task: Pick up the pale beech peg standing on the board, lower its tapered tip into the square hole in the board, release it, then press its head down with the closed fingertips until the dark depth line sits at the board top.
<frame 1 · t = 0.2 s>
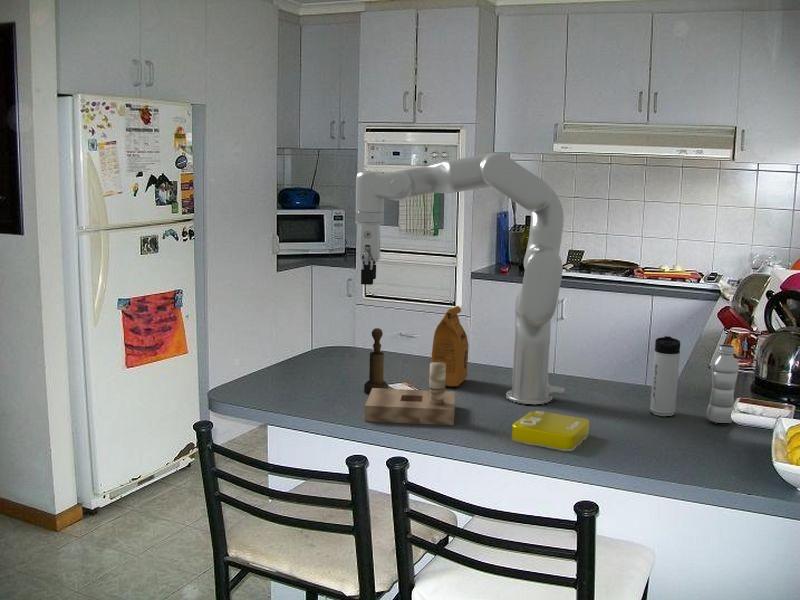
hand: (368, 281, 236), 31 cm above the counter, tool pointing down, fingers open, 9 cm apart
peg: (436, 402, 219), point 4 cm above the counter, touching board
board: (411, 413, 223), on the counter
travel mug: (662, 414, 227), on the counter
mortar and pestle: (376, 392, 241), on the counter
coffee package: (449, 383, 252), on the counter
element tile: (550, 440, 206), on the counter
plastic bottle: (719, 423, 221), on the counter
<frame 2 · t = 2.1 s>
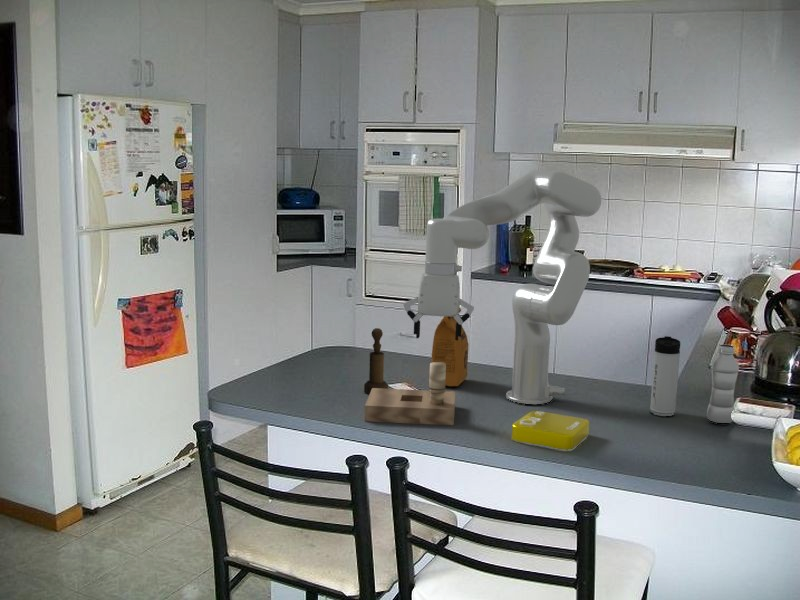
hand: (437, 338, 215), 21 cm above the counter, tool pointing down, fingers open, 9 cm apart
nothing on the counter moved.
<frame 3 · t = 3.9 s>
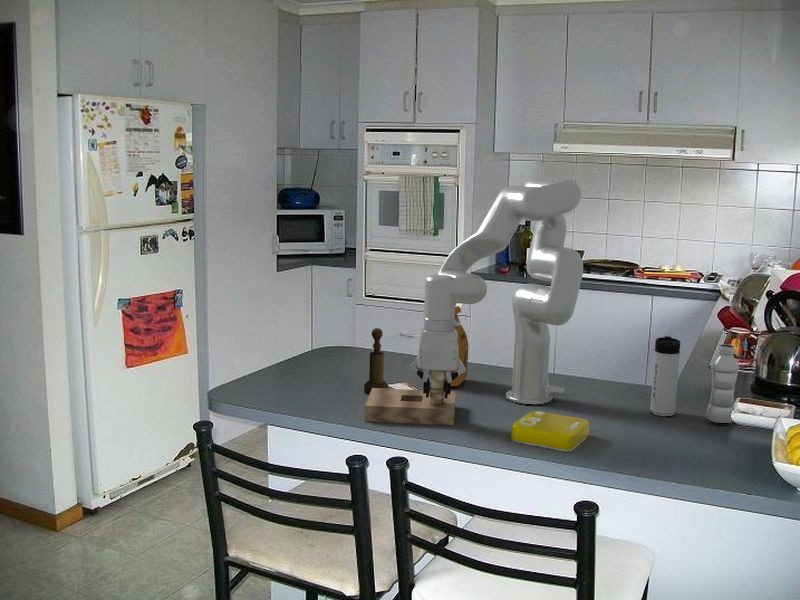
hand: (436, 395, 218), 6 cm above the counter, tool pointing down, fingers closed on peg, 4 cm apart
peg: (436, 402, 219), point 4 cm above the counter, touching board, gripper
everything else where it was.
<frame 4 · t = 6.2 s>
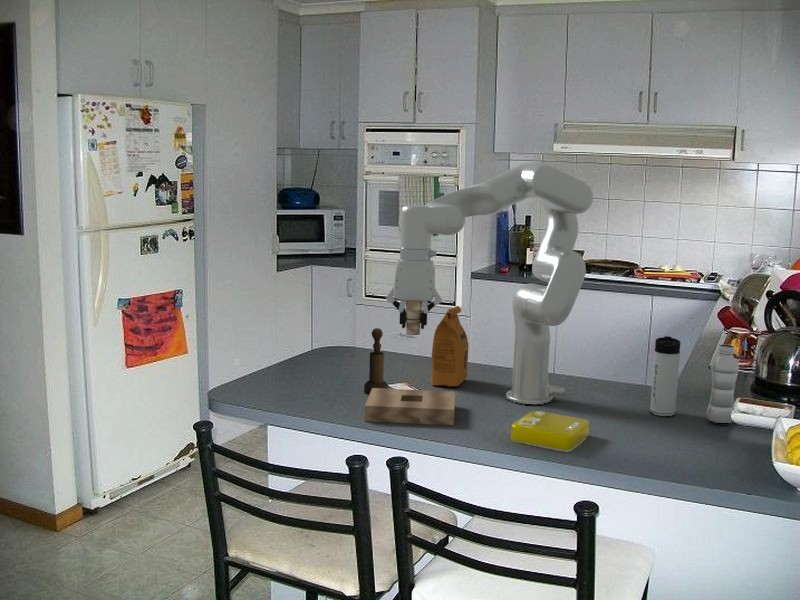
hand: (413, 326, 219), 23 cm above the counter, tool pointing down, fingers closed on peg, 4 cm apart
peg: (412, 333, 219), point 21 cm above the counter, touching gripper
everything else where it was.
when the fingers open (4 cm above the counter, at t = 8.8 s): peg drops 3 cm, resting in board.
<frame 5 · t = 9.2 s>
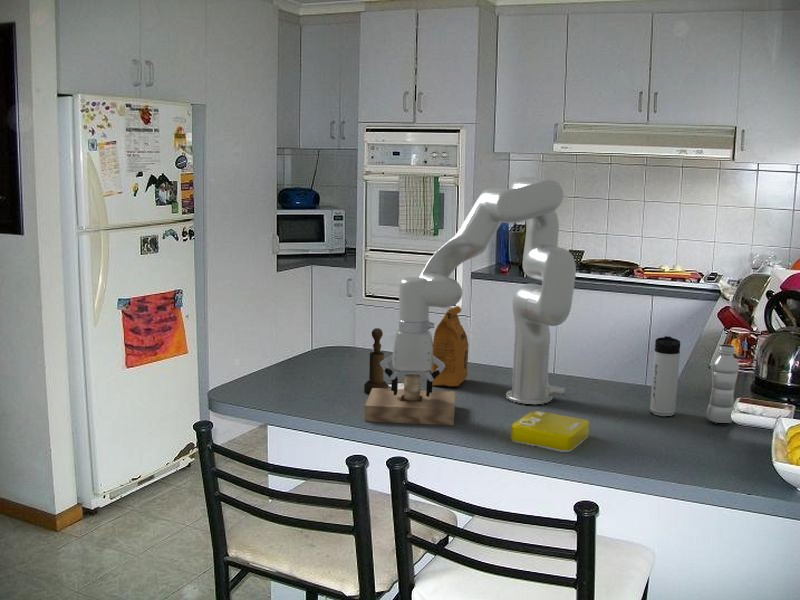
hand: (411, 394, 222), 5 cm above the counter, tool pointing down, fingers open, 7 cm apart
peg: (411, 413, 223), resting in board
everything else where it was.
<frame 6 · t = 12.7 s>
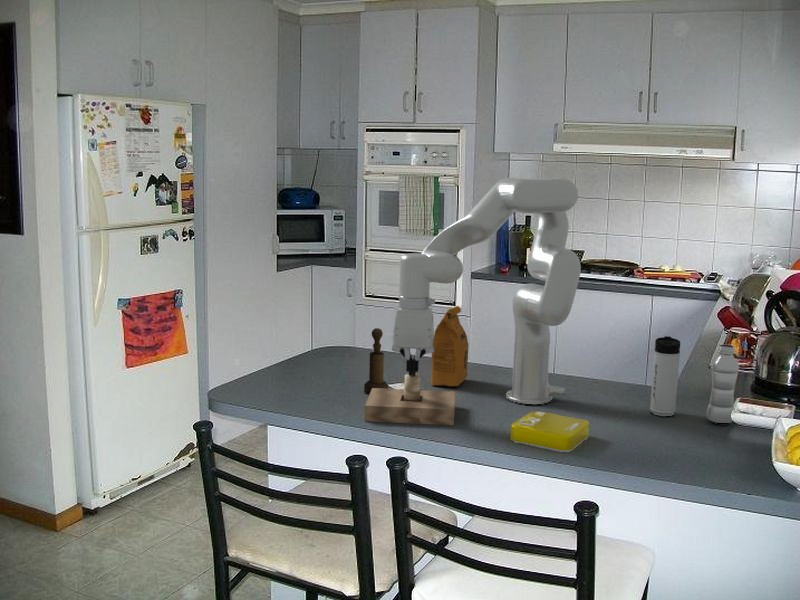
hand: (412, 374, 221), 10 cm above the counter, tool pointing down, fingers closed
nothing on the counter moved.
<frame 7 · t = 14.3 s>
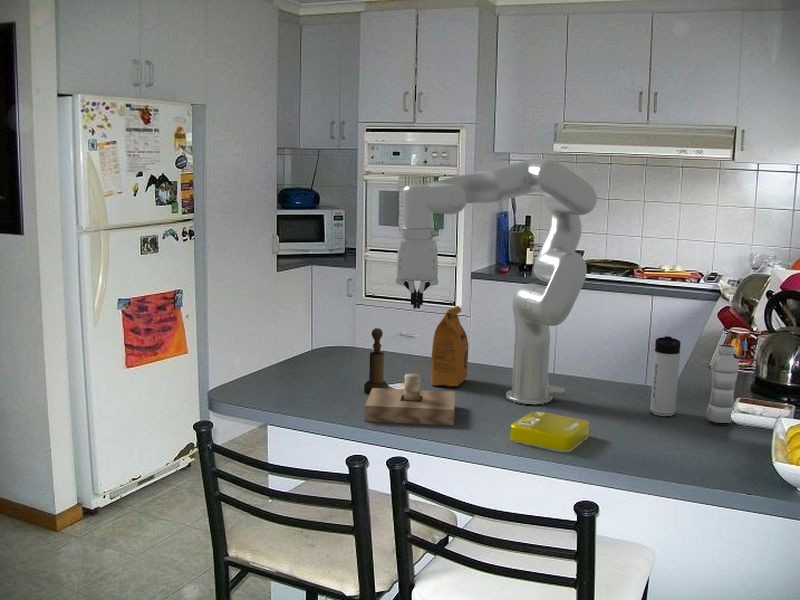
hand: (416, 307, 219), 27 cm above the counter, tool pointing down, fingers closed
nothing on the counter moved.
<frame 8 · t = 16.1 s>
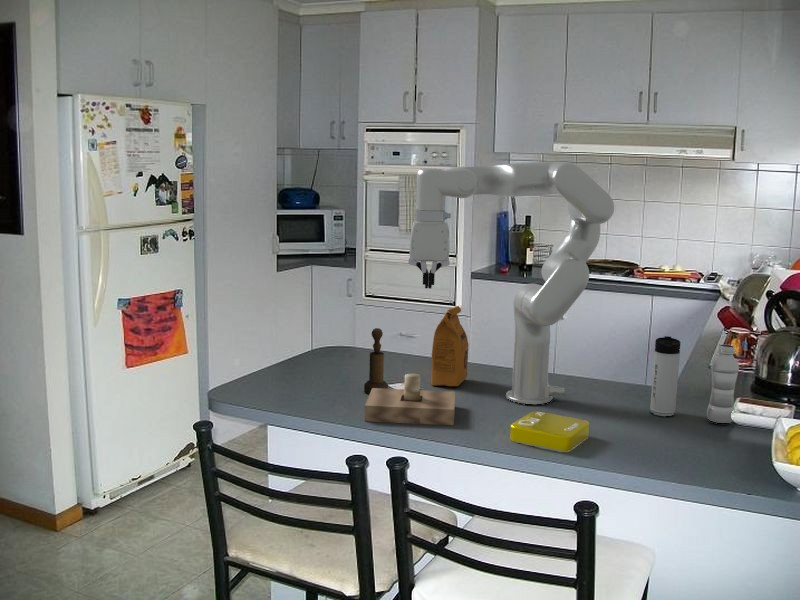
hand: (428, 287, 227), 31 cm above the counter, tool pointing down, fingers closed
nothing on the counter moved.
at the end: peg 0.1 cm off-centre on the board, point 0.0 cm above the board's base; peg tilted 0°; the gripper is holding nothing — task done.
